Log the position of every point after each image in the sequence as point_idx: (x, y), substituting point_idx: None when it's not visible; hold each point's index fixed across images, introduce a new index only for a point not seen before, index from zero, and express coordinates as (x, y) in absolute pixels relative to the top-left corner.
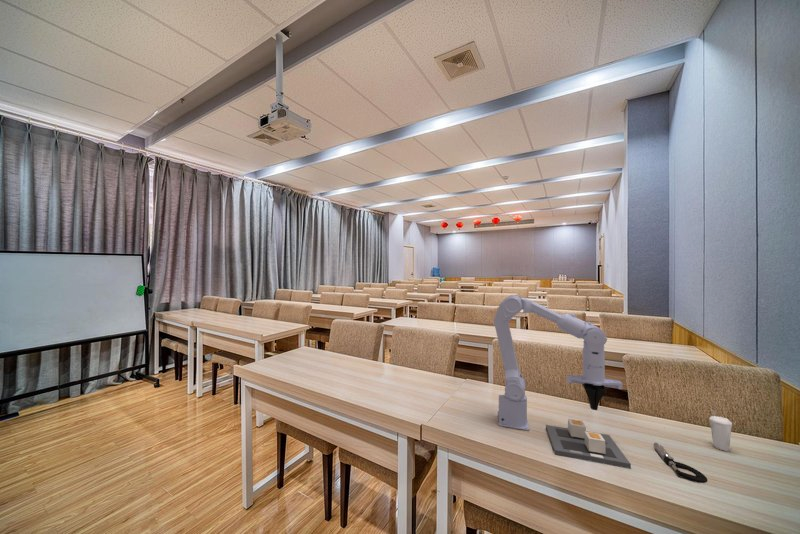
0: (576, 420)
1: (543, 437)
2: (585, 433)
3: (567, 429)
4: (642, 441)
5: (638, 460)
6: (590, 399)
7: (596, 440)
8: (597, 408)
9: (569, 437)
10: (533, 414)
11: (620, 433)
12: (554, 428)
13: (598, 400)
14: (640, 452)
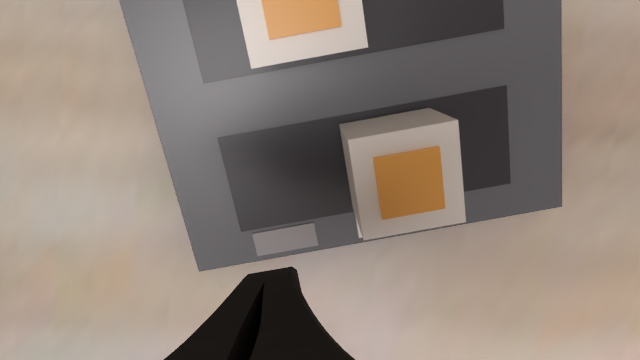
0: (407, 214)
1: (581, 66)
2: (363, 20)
3: None
4: (40, 320)
5: (68, 76)
6: (317, 321)
7: None
8: (239, 285)
9: (438, 97)
10: (594, 341)
11: (143, 354)
12: (514, 181)
13: (205, 335)
14: (54, 183)
